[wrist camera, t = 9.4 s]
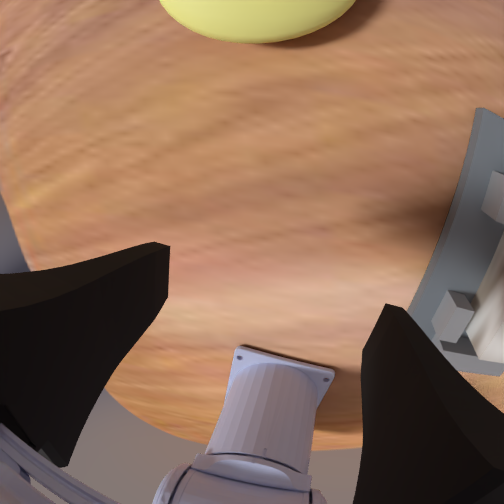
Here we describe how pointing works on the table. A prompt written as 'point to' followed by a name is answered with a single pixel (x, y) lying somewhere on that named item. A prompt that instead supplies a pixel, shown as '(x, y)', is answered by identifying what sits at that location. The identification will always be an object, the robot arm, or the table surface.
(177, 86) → the table surface
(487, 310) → the light grey tapered block
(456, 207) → the cradle
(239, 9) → the emoji
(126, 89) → the table surface
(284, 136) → the table surface
